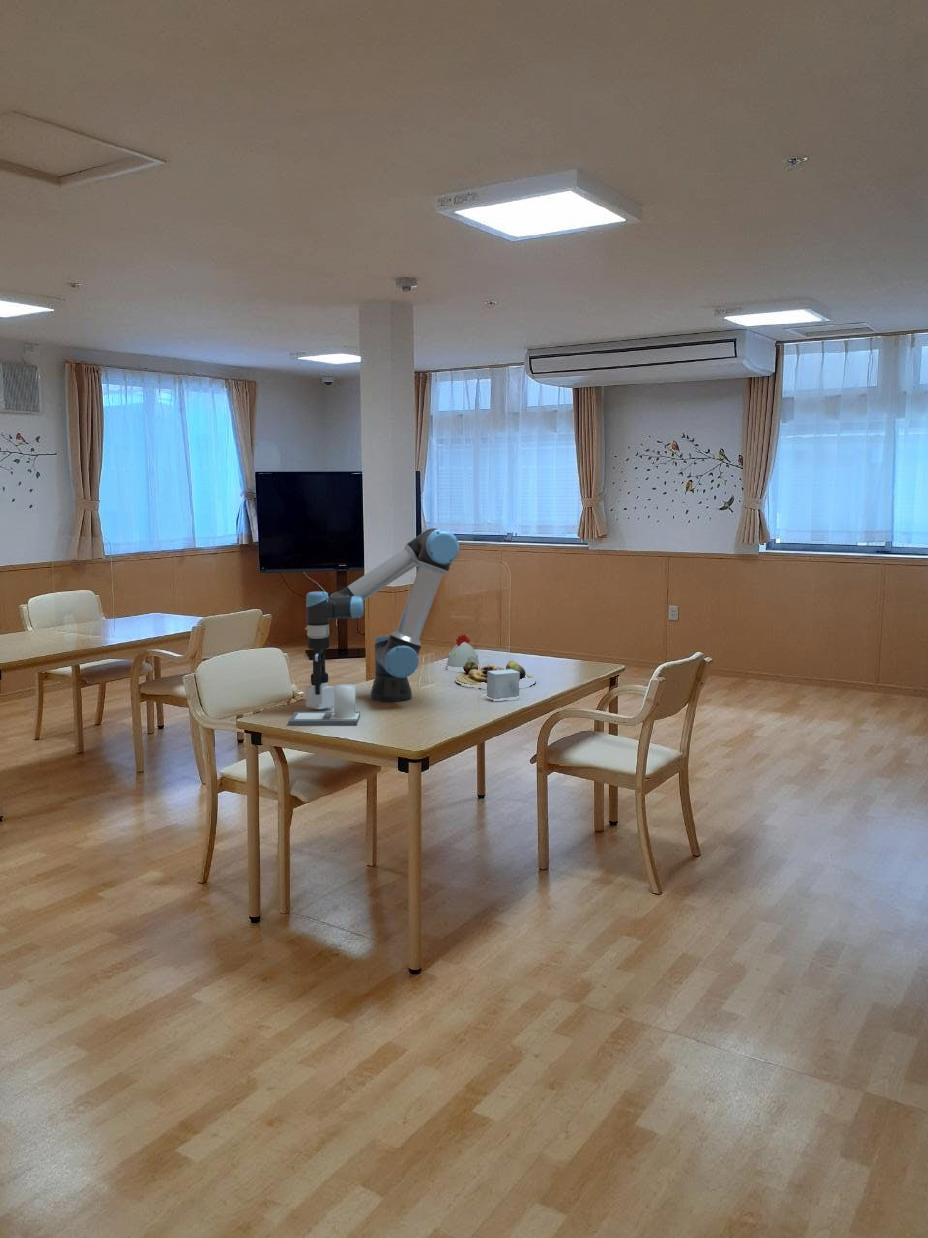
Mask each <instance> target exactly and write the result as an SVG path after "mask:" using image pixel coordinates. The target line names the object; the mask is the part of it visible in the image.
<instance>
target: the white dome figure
mask: <svg viewBox="0 0 928 1238" xmlns="http://www.w3.org/2000/svg"><path fill="white" fill-rule="evenodd" d="M455 640H456V645H455V646H454V647H452V650H451V651H449V653H448V655H447V658H448V659H447V663H446V666H447V665H448V666H451V667H464V665H465V664H466V663H467V662H468V661H473V662H475V663H476V664H477V665H478V664H479V665H480V661H479V655H478V654H477V651H475V649H474V647H473V646H472V645H471V644H470V642H471V641H470V640H471V639H470V638H469V637H468V636H466V634H461V635H457V638H456V639H455Z"/></svg>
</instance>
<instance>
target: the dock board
mask: <svg viewBox="0 0 928 1238" xmlns="http://www.w3.org/2000/svg"><path fill="white" fill-rule="evenodd" d="M360 718H361V711H355V717H352V718H337V717H334V711H294V712H293V714H292V715H291V717H290V718H289V720H288V726H289V725H299V727H301V726H302V727H303V726H304V727H305V726H307V727H309V726H311V727H313V726H315V727H316V726H321V727H322V726H325V727H326V726H329V727H330V726H333V727H335V726H339V727H341V726H342V727H343V726H347V727H348V726H352V727H353V726H354V727H355V726H358V723H359V720H360Z"/></svg>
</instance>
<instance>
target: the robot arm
mask: <svg viewBox="0 0 928 1238" xmlns="http://www.w3.org/2000/svg"><path fill="white" fill-rule="evenodd" d="M459 552H460V544H459V540H458V538H457V537H456V535H454V534H453V532H451V531H449V530H447V529H443V528H428V529H427V530H424V531H422V532H421V533H419V535H417V536H416V537H415V538H413V539H412V540H410V541H409V542H408V543H406V544H404V548H403V549H402V550H401V551H399V552H398V553H396V554H394V555H392V556H391V557H389V559H387V560H385V561H384V562H382V563H381V564H379V565H378V566H376V567H375V568H373V569H372V570H370V571H369V572H367V573H366V574H364V575H362V576H361V577H359V578H357V580H355V581H354V582H352V583H351V584H349V585H347V586H346V587H345V588H343V589H342V590H341V589H340V591H335V592H333V593H332V594H331V595H330V596H329V594H328V592H327V591H310V592H308V593H307V594H306V596H305V597H306V598H305V601H306V602H305V603H306V604H305V611H306V614H305V615H306V626H305V628H304V630H305V631H307V632H306V634H307V640H306V642H307V643H306V644H307V648H308V649H310V650H314V651H313V653H312V654H311V655H312V673H313V683H311V682H310V686H312V685H314V704H322V685H321V673H322V672H326V673H327V671H326V653H325V651H326V650H325V649H329V648H330V637H329V636H330V622H329V621H330V620H335V619H356V618H357V619H358V618H359V619H360V618H362V617H363V616H364V610H365V609H364V601H366V600H367V599H368V598H370V597H371V596H373V595H374V594H376V593H377V592H379V591H380V590H382V589H384V588H385V587H387V586H389V585H390V584H391V583H393V582H394V581H395V580H397V579H399V578H400V577H402V576H403V575H406V573H408V572H409V571H411V570H413V569H414V568H415V567H417V568H418V570H417V572H416V575H415V578H414V581H413V584H412V587H411V589H410V592H409V594H408V597H407V600H406V603H405V606H404V609H403V611H402V614H401V616H400V619H399V622H398V625H397V628H396V630H395V631H394V632H392V633H390V634H389V635H382V636H380V635H379V636H376V637H375V638H374V639H375V640H374V644H373V645H374V680H373V684H372V686H371V689H370V699H371V700H373V701H378V702H389V703H390V702H402V701H407V700H412V697H413V691H412V689H411V685H410V681H409V680H408V677H410V676H412V675H413V674H414V673H415V672H416V670H417V669H418V667H419V663H420V662H419V661H420V660H419V653H420V651H421V648H422V642H421V640H420V638H421V635H422V633H423V631H424V630H423V629H424V626H425V624H426V621H427V619H428V615H429V613H430V610H431V608H432V604H433V602H434V599H435V596H436V594H437V591H438V588H439V585H440V582H441V580H442V577H443V575H445V574H447V573H448V572H449V570H450V568H451V565H452V562H454V561H455V560H456V559H457V557H458V555H459ZM316 680H318V681H316Z"/></svg>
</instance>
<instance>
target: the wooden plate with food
mask: <svg viewBox="0 0 928 1238" xmlns="http://www.w3.org/2000/svg"><path fill="white" fill-rule="evenodd" d="M463 669H464V671H465V672H461V673H459V674H457V675H456V677H455V679H457V681H459V682H461V683H464V684H470V685H481V684H477V683H481V682H485V683H487V671H495V670H509V669H513V670H515V671H518V672H520V679H522V678H526V677H525V675H526V674H527V675H526V676H527V677H528V678H535V677H534V676H533V675H531V674H528V673H526V670H525V669H524V667H523V666H521V665H520V664H519V663H518V662H516V661H515V660H513V659H512V660H511V659H510V660H509V662H508V663H507V665H506V666H505V668H502V667H498V666H497V667H495V666H494V665H491V664H490V665H483V667H481V668H480V669H479V671H478V665H477V664H476V663H475V662H473V661H468V662H467V663H466V664H465V665H464V667H463ZM463 678H464V679H465V680H467V681H465V680H464V679H463ZM468 681H469V682H468Z"/></svg>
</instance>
